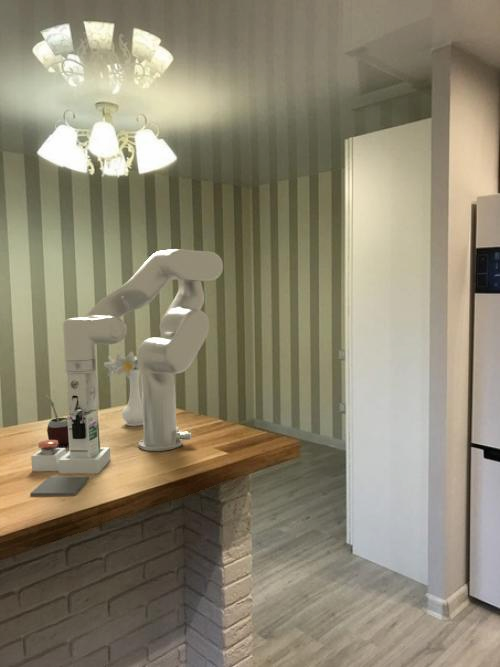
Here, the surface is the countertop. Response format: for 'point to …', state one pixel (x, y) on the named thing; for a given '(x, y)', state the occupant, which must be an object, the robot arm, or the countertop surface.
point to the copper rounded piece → (48, 447)
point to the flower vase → (134, 406)
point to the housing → (70, 462)
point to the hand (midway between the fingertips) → (84, 434)
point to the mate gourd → (58, 429)
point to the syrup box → (91, 442)
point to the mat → (60, 486)
